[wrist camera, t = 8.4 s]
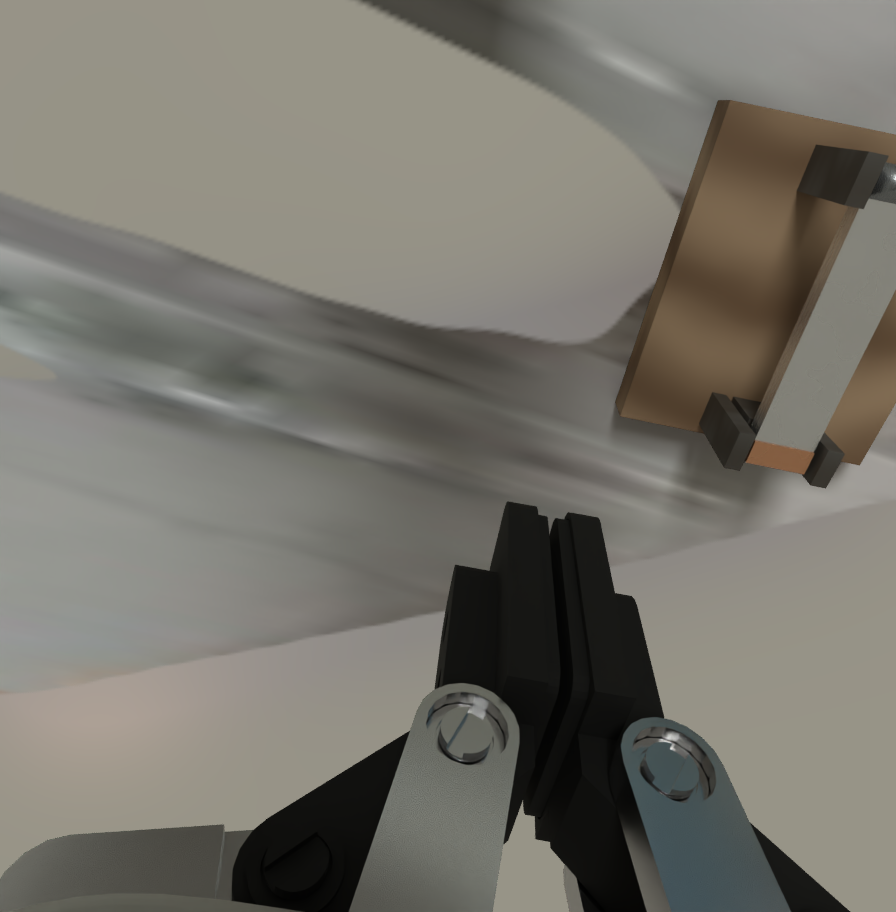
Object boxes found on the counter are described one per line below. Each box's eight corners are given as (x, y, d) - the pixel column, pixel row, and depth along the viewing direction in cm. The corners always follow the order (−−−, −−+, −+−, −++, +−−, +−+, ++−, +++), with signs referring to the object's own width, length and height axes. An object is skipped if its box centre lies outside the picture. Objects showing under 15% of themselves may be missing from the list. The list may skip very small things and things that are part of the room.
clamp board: (718, 100, 31) (769, 99, 24) (1004, 160, 31) (1126, 174, 25) (615, 402, 38) (634, 458, 32) (843, 448, 38) (906, 514, 32)
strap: (864, 159, 27) (884, 160, 26) (934, 173, 27) (957, 175, 26) (736, 451, 33) (746, 465, 32) (792, 462, 33) (805, 477, 32)
